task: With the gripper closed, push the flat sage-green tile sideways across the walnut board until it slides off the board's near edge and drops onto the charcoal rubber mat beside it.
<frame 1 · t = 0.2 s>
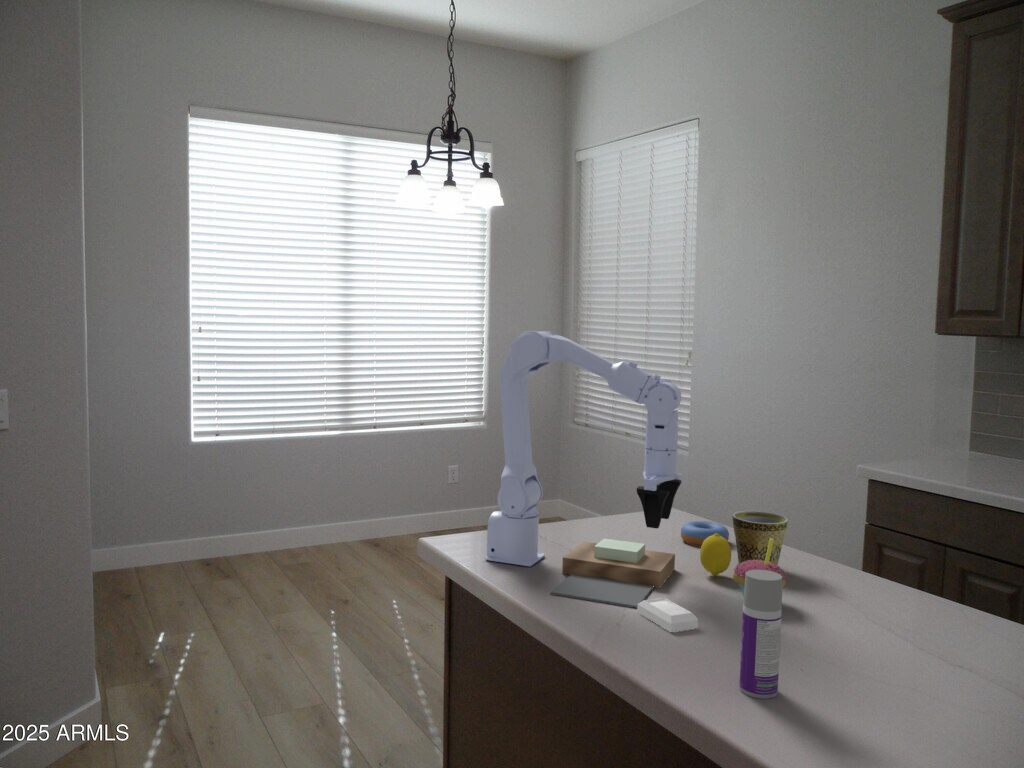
hand: (657, 522, 149), 10 cm above the table, tool pointing down, fingers open, 7 cm apart
container: (758, 691, 104), on the table
lemon: (714, 577, 151), on the table
soap bar: (666, 624, 128), on the table
board: (619, 571, 152), on the table
mat: (602, 591, 141), on the table
tile: (619, 555, 152), point 3 cm above the table, touching board
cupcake: (758, 603, 137), on the table
doughnut: (704, 543, 174), on the table
ceramic cup: (755, 567, 157), on the table
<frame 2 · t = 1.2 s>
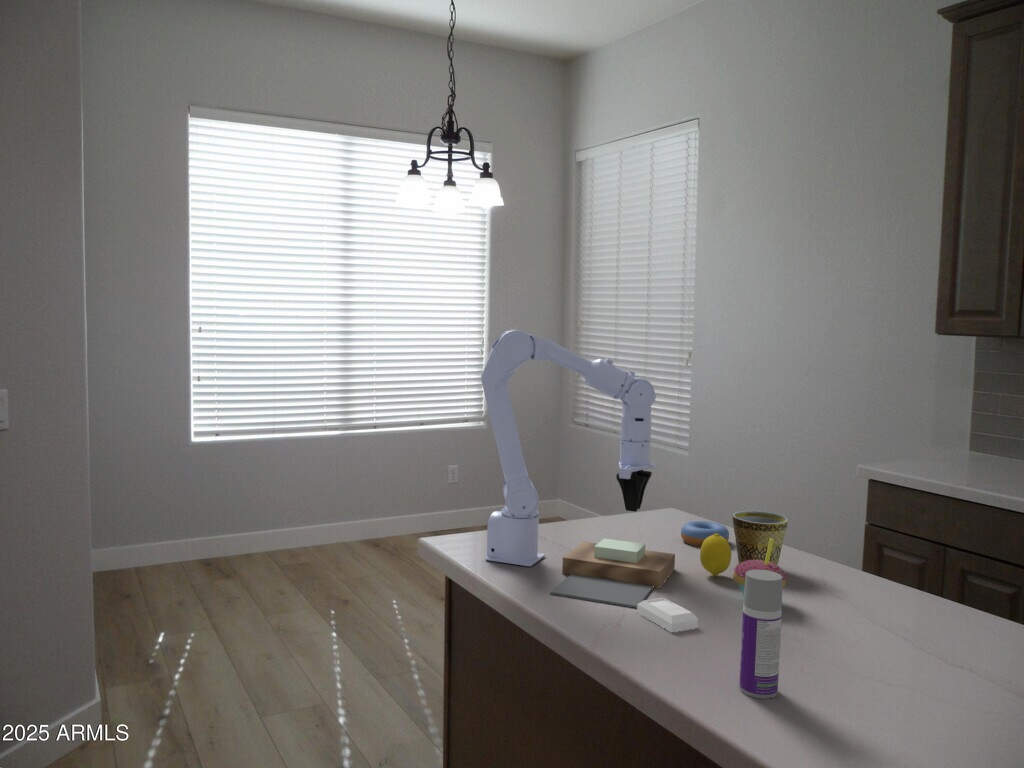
hand: (632, 509, 159), 10 cm above the table, tool pointing down, fingers closed
nothing on the table moved.
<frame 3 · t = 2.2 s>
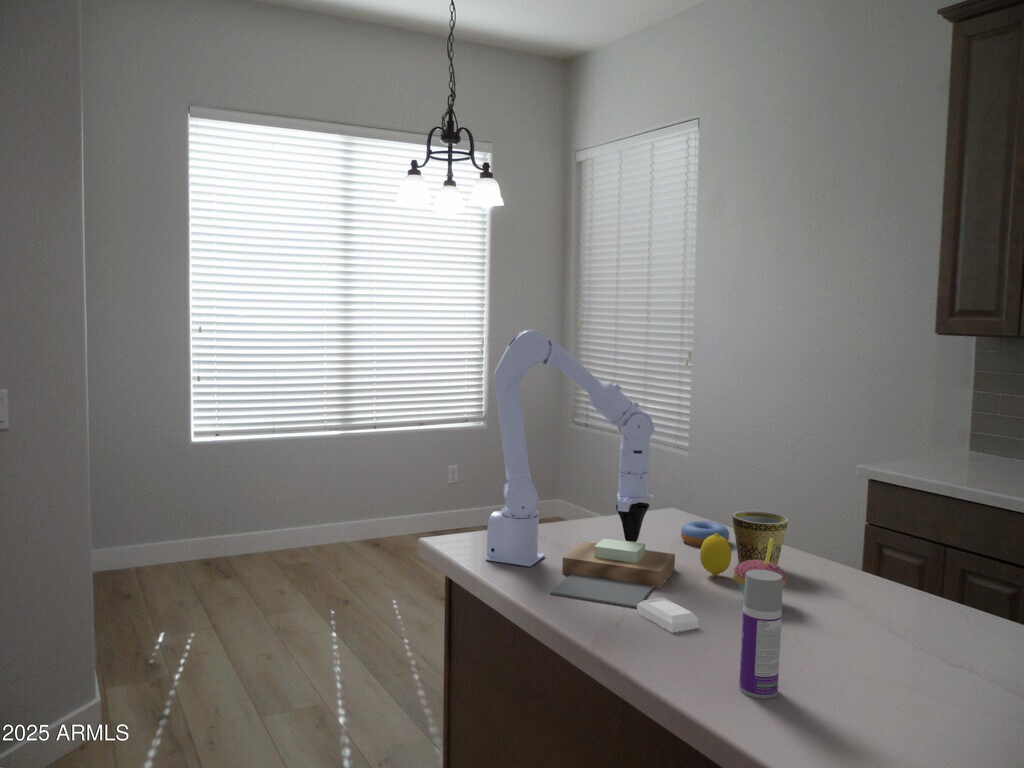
hand: (631, 540, 159), 4 cm above the table, tool pointing down, fingers closed
nothing on the table moved.
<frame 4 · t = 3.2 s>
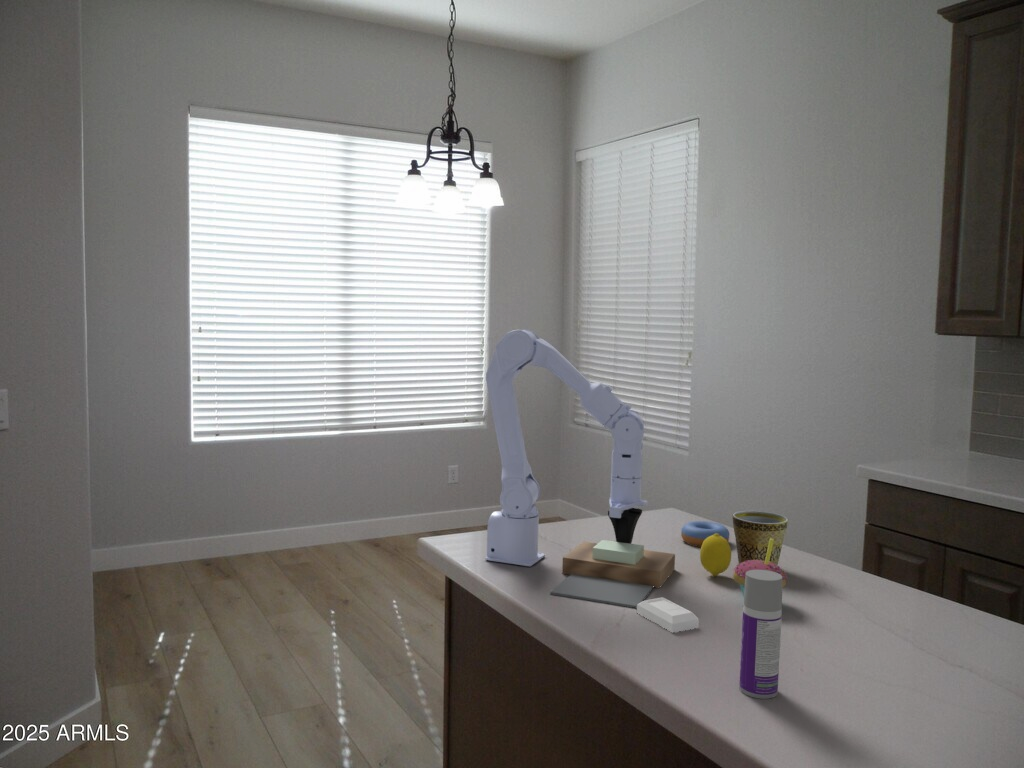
hand: (623, 547, 154), 4 cm above the table, tool pointing down, fingers closed
tile: (618, 557, 151), point 3 cm above the table
everything else where it was.
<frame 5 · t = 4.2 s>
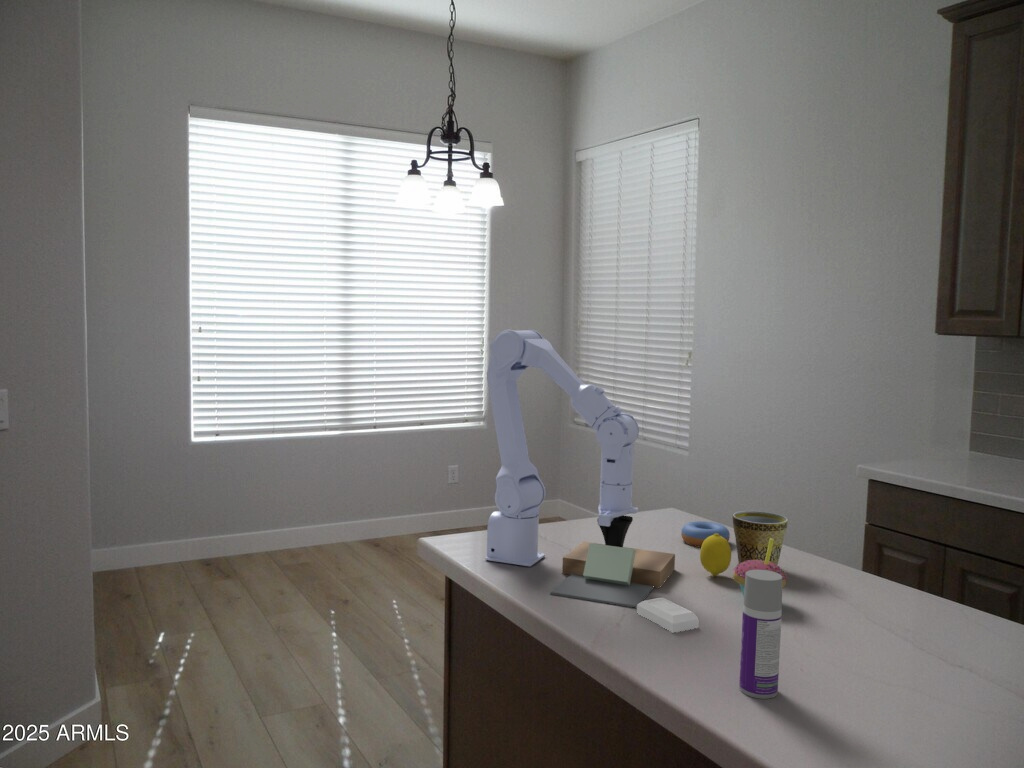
hand: (613, 556, 148), 4 cm above the table, tool pointing down, fingers closed
tile: (610, 565, 146), point 3 cm above the table, tilted 55°, touching gripper, mat
everything else where it was.
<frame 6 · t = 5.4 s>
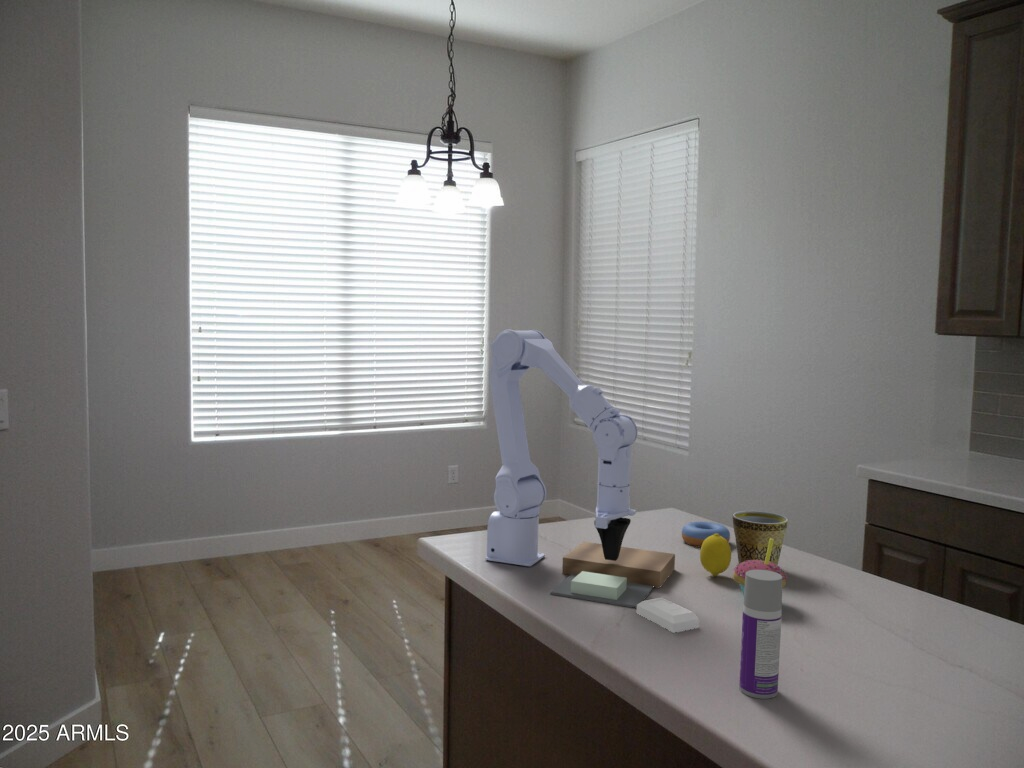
hand: (611, 559, 147), 4 cm above the table, tool pointing down, fingers closed
tile: (599, 579, 140), point 2 cm above the table, tilted 180°, touching mat
everything else where it was.
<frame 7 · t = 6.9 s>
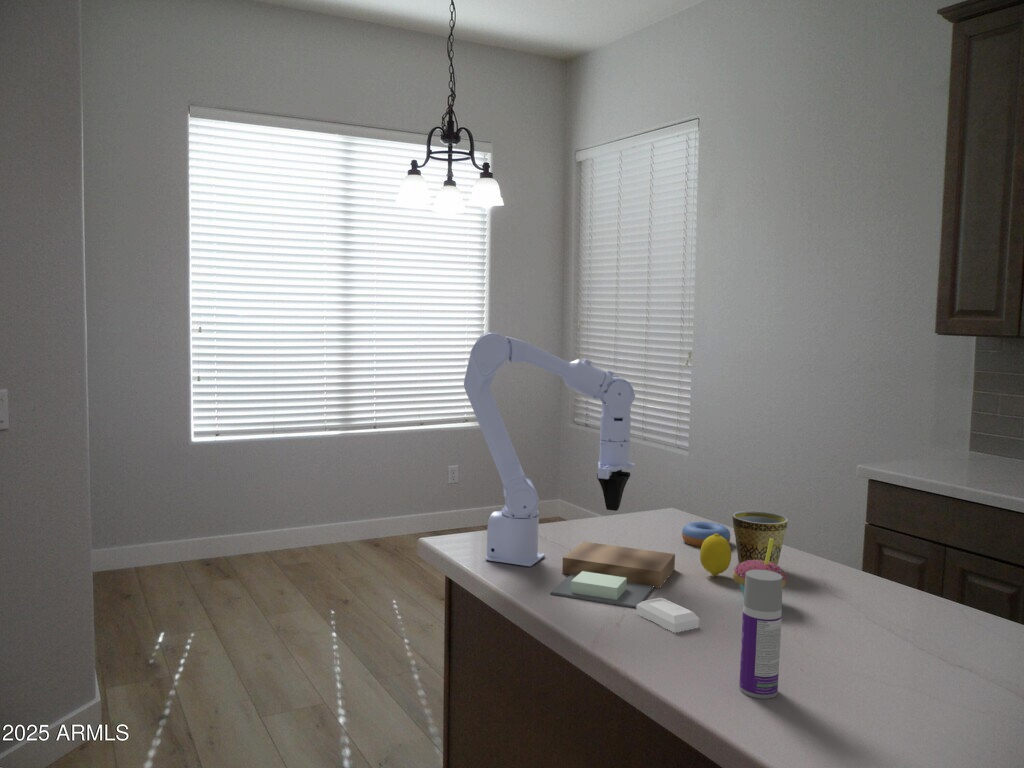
hand: (612, 509, 159), 10 cm above the table, tool pointing down, fingers closed
nothing on the table moved.
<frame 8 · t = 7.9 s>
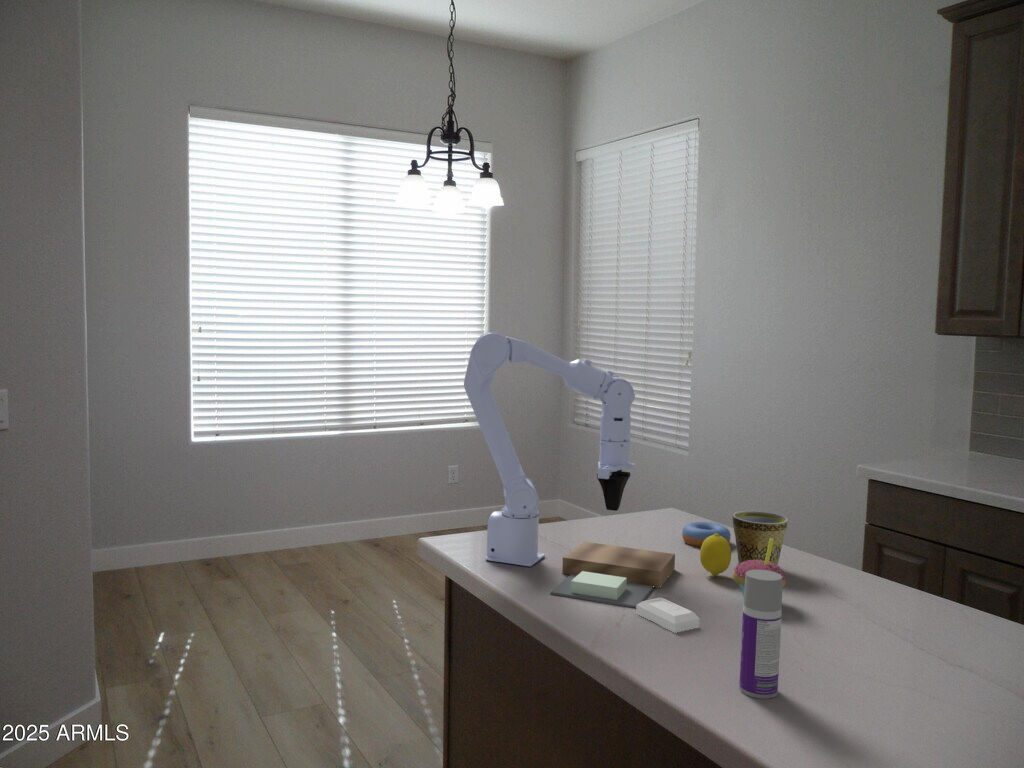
hand: (612, 509, 159), 10 cm above the table, tool pointing down, fingers closed
nothing on the table moved.
at the end: tile point 2.4 cm above the table; tile inside the target area on the mat (1.2 cm from its centre), point 2.4 cm above the mat's base; tile touching mat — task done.
